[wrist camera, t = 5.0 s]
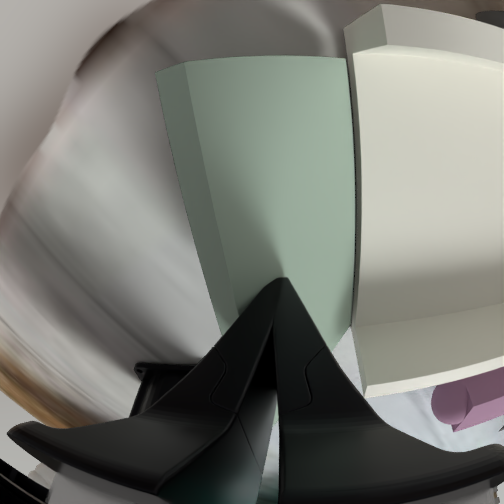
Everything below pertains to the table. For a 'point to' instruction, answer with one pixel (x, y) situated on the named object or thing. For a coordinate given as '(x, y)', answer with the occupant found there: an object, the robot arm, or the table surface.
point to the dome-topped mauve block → (470, 400)
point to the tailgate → (267, 179)
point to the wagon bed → (427, 196)
